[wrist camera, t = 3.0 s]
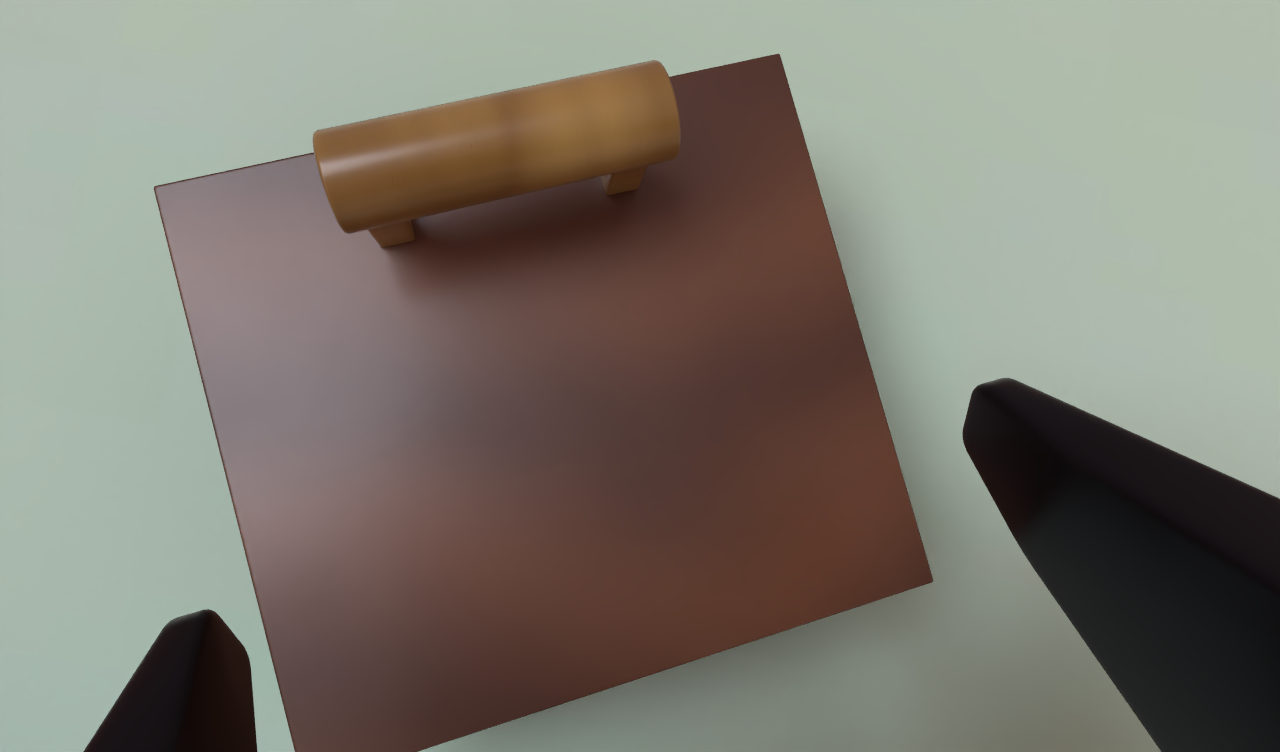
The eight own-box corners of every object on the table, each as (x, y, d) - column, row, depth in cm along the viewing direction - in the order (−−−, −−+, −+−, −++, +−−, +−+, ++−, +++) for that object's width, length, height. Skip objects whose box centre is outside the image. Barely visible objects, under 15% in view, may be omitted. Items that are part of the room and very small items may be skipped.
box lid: (168, 196, 16) (27, 99, 11) (770, 67, 18) (851, -60, 13) (313, 774, 15) (225, 908, 11) (918, 576, 17) (1054, 622, 13)
